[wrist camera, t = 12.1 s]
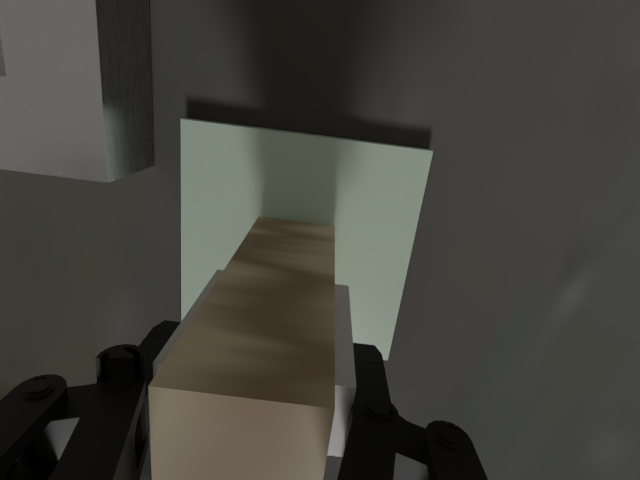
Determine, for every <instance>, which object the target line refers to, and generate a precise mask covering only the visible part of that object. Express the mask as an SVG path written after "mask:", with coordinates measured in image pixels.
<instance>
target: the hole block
mask: <svg viewBox="0 0 640 480" xmlns="http://www.w3.org/2000/svg"><path fill="white" fill-rule="evenodd" d="M152 166H154V148H153V112H152V76H151V40H150V4H149V0H0V169H4V170H12V171H20V172H28V173H35V174H43V175H51V176H59V177H67V178H75V179H83V180H91V181H99V182H107V183H108V182H111V181H114V180H117V179H119V178H122V177H125V176H128V175H130V174H133V173H136V172H139V171H141V170H144V169H147V168H149V167H152Z"/></svg>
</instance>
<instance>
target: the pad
mask: <svg viewBox="0 0 640 480" xmlns="http://www.w3.org/2000/svg"><path fill="white" fill-rule="evenodd" d="M432 154H433V151H432V150H430V149H426V148H418V147H410V146H403V145H395V144H387V143H379V142H371V141H363V140H355V139H348V138H340V137H332V136H324V135H316V134H308V133H301V132H293V131H285V130H277V129H269V128H261V127H253V126H246V125H238V124H230V123H222V122H214V121H206V120H199V119H191V118H184V119H181V321H182V320H183V318H184V317H185V316H186V314H187V313H188V311H189V310H190V308H191V307H192V305H193V304H194V302H195V301H196V300H197V298H198V297H199V295H200V294H201V292H202V291H203V289H204V288H205V287H206V285H207V284H208V282H209V281H210V279H211V278H212V276H213V275H214V274H215V272H216V271H217V269H218V270H224V269H225V267H226V266H227V264H228V263H229V261H230V260H231V258H232V257H233V255H234V253H235V252H236V250H237V249H238V247H239V246H240V244H241V243H242V241H243V240H244V238H245V237H246V235H247V233H248V232H249V230H250V229H251V227H252V226H253V224H254V223H255V221H256V220H257V218H258V217H259V216H260V217H268V218H276V219H284V220H291V221H299V222H307V223H315V224H323V225H331V226H335V284H339V285H347V286H349V297H350V310H351V323H352V337H353V343H360V344H368V345H375V346H376V347H377V349H378V350H379V351H380V353H381V354H382V358H383V360H388V357H389V352H390V347H391V343H392V338H393V334H394V329H395V324H396V320H397V315H398V311H399V306H400V301H401V297H402V292H403V288H404V283H405V278H406V274H407V269H408V265H409V260H410V255H411V251H412V246H413V242H414V237H415V232H416V228H417V223H418V219H419V214H420V209H421V205H422V200H423V196H424V191H425V186H426V182H427V177H428V173H429V168H430V163H431V159H432Z"/></svg>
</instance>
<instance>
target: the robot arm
mask: <svg viewBox="0 0 640 480" xmlns="http://www.w3.org/2000/svg"><path fill="white" fill-rule="evenodd" d="M222 272H223V270H218V269H217V271H216V272H215V274H214V275H213V276H212V278H211V279H210V281H209V282H208V284H207V285H206V287H205V288H204V289H203V291H202V292H201V294H200V295H199V297H198V298H197V300H196V301H195V302H194V304H193V305H192V307H191V308H190V310H189V311H188V313H187V314H186V316H185V317H184V318H183V320H182V321H181V322H174V321H166V320H165V321H163V322H161V323H160V324H158V325H156V326H155V327H153V329H152V330H151V331H150V332H149V334H148V335H147V337H145V339H144V340H143V341H142V342H141V345H139V346H136V345H129V344H124V345H116V346H113V347H110V348H107V349H106V350H104V351H102V352H101V353H100V354H99V355H98V356H97V357H96V358H95V361H96V372H97V383H96V384H91V385H84V386H75V387H67V383H66V380H65V379H64V378H63V377H61V376H58V375H41V376H36V377H33V378H31V379H28V380H26V381H24V382H22V383H21V384H19V385H18V386H16V387H15V388H14V389H13V390H12V391H11V392H9V393H8V394H7V395H6V396H5V397H4V398H3V399H1V400H0V480H139V479H140V475H141V472H142V468H143V464H144V460H145V456H146V452H147V448H148V433H149V431H150V418H149V393H148V386H149V384H150V383H151V381H152V379H153V378H154V376H155V375H156V373H157V372H158V370H159V369H160V367H161V366H162V364H163V363H164V361H165V360H166V358H167V356H168V355H169V353H170V352H171V350H172V349H173V347H174V346H175V344H176V343H177V341H178V340H179V338H180V336H181V335H182V333H183V332H184V330H185V329H186V327H187V326H188V324H189V323H190V321H191V320H192V318H193V316H194V315H195V313H196V312H197V310H198V309H199V307H200V306H201V304H202V303H203V301H204V300H205V298H206V297H207V295H208V293H209V292H210V290H211V289H212V287H213V286H214V284H215V283H216V281H217V280H218V278H219V277H220V275H221V273H222ZM344 450H345V451H344ZM327 455H331V456H339V457H343V459H342V463H341V467H340V471H339V475H338V479H337V480H488V479H487V477H486V474H485V472H484V470H483V467H482V465H481V462H480V460H479V458H478V455H477V453H476V450H475V448H474V446H473V443H472V441H471V439H470V438H469V436H468V435H467V433H465V432H464V431H463V430H462V429H461V428H460V427H458V426H456V425H454V424H452V423H450V422H446V421H433V422H431V423H429V424H428V426H427V427H426V429H425V428H423V427H420V426H417V425H415V424H412V423H410V422H408V421H406V420H405V419H403V418H402V417H400V416H399V415H398V411H397V409H396V408H395V406H394V405H393V404H392V403H391V401H390V395H389V390H388V385H387V379H386V374H385V368H384V363H383V358H382V354H381V353H380V351H379V350H378V349H377V347H376V346H375V345H368V344H360V343H353V337H352V323H351V310H350V297H349V286H347V285H339V284H335V412H334V418H333V424H332V429H331V435H330V441H329V447H328V453H327Z"/></svg>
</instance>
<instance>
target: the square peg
mask: <svg viewBox="0 0 640 480" xmlns="http://www.w3.org/2000/svg"><path fill="white" fill-rule="evenodd" d="M148 393H149V418H150V443H151V467H152V480H323V477H324V471H325V465H326V459H327V453H328V447H329V441H330V435H331V429H332V424H333V418H334V412H335V226H331V225H323V224H315V223H307V222H299V221H291V220H284V219H276V218H268V217H260V216H259V217H258V218H257V220H256V221H255V223H254V224H253V226H252V227H251V229H250V230H249V232H248V233H247V235H246V237H245V238H244V240H243V241H242V243H241V244H240V246H239V247H238V249H237V250H236V252H235V253H234V255H233V257H232V258H231V260H230V261H229V263H228V264H227V266H226V267H225V269H224V270H223V272H222V273H221V275H220V277H219V278H218V280H217V281H216V283H215V284H214V286H213V287H212V289H211V290H210V292H209V293H208V295H207V297H206V298H205V300H204V301H203V303H202V304H201V306H200V307H199V309H198V310H197V312H196V313H195V315H194V316H193V318H192V320H191V321H190V323H189V324H188V326H187V327H186V329H185V330H184V332H183V333H182V335H181V336H180V338H179V340H178V341H177V343H176V344H175V346H174V347H173V349H172V350H171V352H170V353H169V355H168V356H167V358H166V360H165V361H164V363H163V364H162V366H161V367H160V369H159V370H158V372H157V373H156V375H155V376H154V378H153V379H152V381H151V383H150V384H149V386H148Z"/></svg>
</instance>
